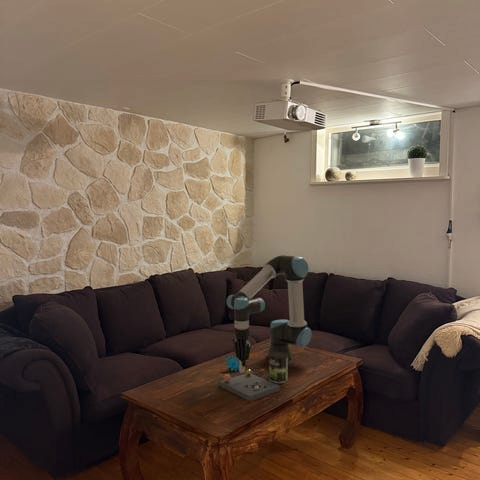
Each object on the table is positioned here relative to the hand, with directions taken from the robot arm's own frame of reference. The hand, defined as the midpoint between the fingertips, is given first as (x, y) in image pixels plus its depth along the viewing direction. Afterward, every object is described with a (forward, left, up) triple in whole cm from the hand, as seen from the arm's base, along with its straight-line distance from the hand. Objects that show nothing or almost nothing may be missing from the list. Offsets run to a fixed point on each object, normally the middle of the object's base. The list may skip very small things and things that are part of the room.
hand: (242, 371), depth 234 cm
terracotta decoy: (+8, -3, -2) cm, 9 cm away
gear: (-11, -19, -7) cm, 23 cm away
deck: (+1, +5, -7) cm, 9 cm away
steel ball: (+1, +12, -5) cm, 13 cm away
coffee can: (-19, +7, -7) cm, 22 cm away
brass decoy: (-7, -3, -3) cm, 8 cm away
